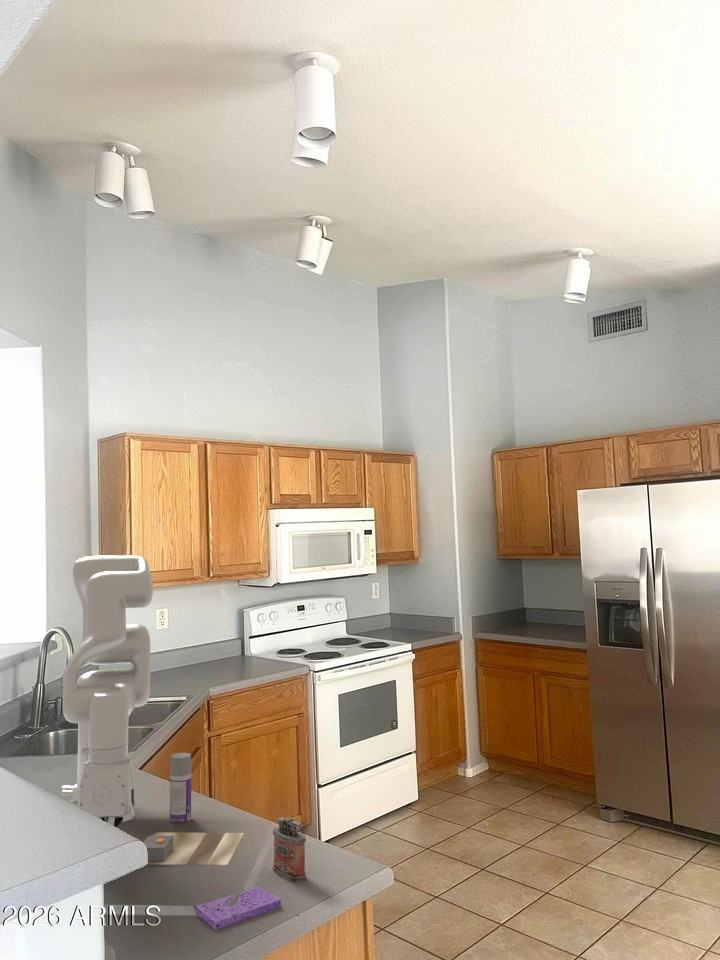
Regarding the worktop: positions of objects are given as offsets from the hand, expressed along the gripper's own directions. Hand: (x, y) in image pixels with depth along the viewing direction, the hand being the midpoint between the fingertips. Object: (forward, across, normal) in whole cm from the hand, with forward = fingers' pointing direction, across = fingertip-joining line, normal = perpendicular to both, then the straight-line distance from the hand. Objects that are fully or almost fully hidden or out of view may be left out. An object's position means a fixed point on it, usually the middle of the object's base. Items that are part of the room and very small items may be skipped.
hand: (106, 850), depth 148 cm
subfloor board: (+2, +15, +4) cm, 16 cm away
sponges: (+3, +30, -19) cm, 36 cm away
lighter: (+2, +37, -5) cm, 37 cm away
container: (+2, +9, +20) cm, 22 cm away
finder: (+1, +10, 0) cm, 10 cm away
